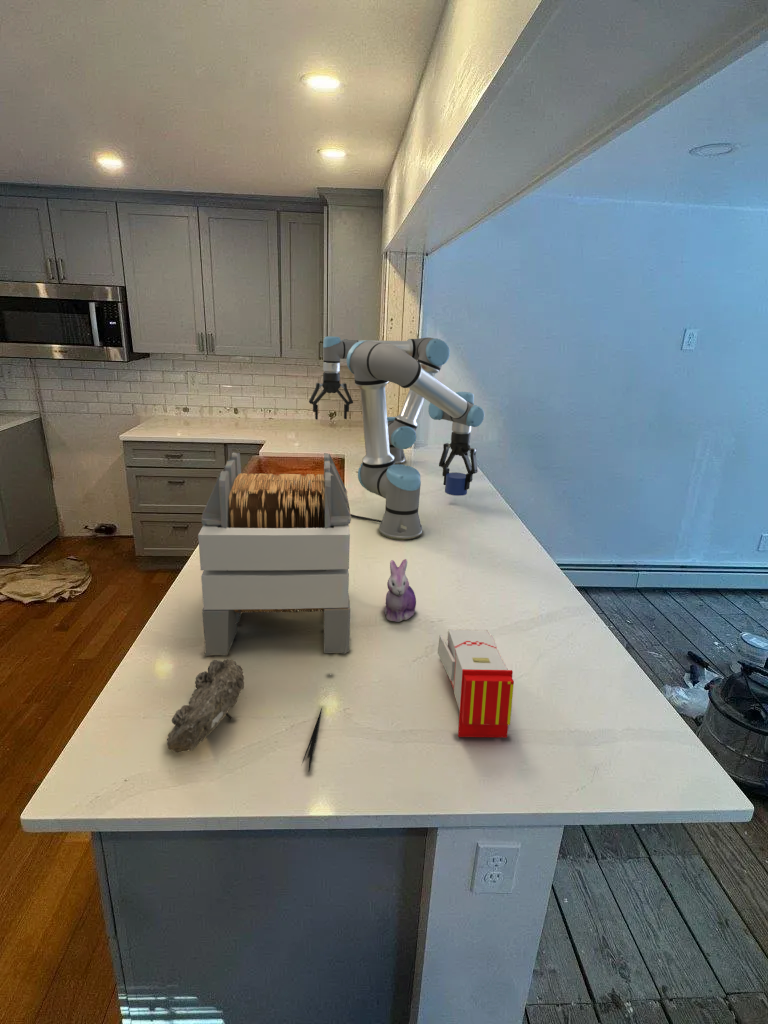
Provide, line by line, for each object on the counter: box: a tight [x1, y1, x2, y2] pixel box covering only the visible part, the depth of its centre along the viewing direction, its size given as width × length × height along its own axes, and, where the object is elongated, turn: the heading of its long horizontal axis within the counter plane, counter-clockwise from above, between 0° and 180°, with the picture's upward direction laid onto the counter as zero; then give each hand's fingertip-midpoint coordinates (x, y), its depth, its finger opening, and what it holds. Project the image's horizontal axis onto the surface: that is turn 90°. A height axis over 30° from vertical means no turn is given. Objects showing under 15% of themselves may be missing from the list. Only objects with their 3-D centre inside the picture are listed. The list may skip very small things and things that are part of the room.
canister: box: [444, 471, 468, 497], centre depth 230 cm, size 9×9×7 cm
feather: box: [301, 673, 332, 771], centre depth 108 cm, size 2×28×2 cm
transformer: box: [197, 451, 352, 657], centre depth 136 cm, size 34×33×41 cm
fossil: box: [166, 658, 245, 754], centre depth 106 cm, size 22×10×15 cm
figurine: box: [384, 558, 417, 623], centre depth 145 cm, size 9×10×15 cm
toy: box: [437, 628, 515, 738], centre depth 117 cm, size 12×13×30 cm
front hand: (456, 486), depth 230 cm, fingers closed on canister, 9 cm apart
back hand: (330, 418), depth 264 cm, fingers open, 13 cm apart
